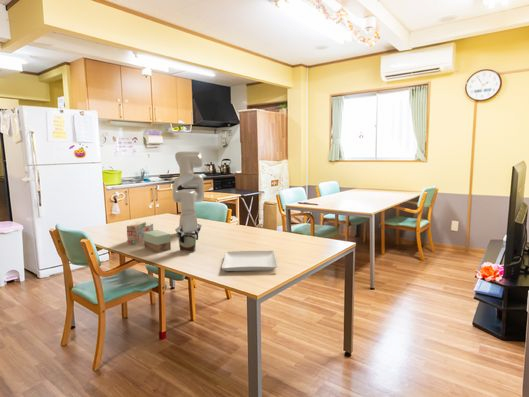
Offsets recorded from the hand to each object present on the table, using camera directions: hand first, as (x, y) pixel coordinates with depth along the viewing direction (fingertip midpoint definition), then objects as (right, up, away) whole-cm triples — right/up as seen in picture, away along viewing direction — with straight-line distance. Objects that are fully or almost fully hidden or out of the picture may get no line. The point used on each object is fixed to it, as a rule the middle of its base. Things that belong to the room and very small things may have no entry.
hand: (189, 240), depth 200 cm
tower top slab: (-20, -1, +3) cm, 20 cm away
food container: (0, -6, +1) cm, 6 cm away
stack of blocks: (-37, -3, +24) cm, 44 cm away
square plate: (+37, -10, -25) cm, 46 cm away
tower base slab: (-20, -6, +4) cm, 21 cm away
